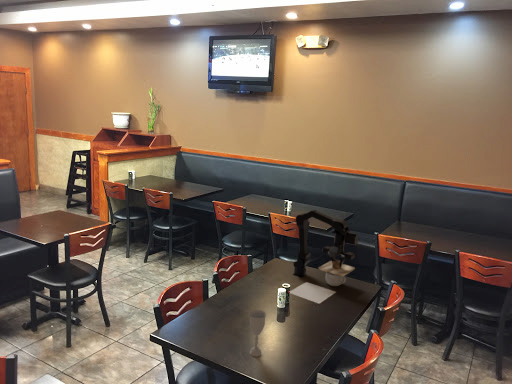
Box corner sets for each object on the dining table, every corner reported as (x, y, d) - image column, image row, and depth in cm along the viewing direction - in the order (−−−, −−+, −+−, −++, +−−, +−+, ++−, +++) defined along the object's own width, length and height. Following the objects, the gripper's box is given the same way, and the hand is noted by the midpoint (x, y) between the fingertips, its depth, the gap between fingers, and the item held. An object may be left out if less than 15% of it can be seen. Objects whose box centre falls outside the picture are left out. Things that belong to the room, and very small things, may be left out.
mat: (288, 292, 234) (288, 292, 234) (306, 282, 250) (306, 281, 249) (319, 304, 222) (319, 303, 222) (336, 292, 238) (336, 292, 238)
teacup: (321, 281, 252) (322, 269, 250) (335, 279, 256) (337, 267, 255) (334, 291, 239) (335, 278, 238) (349, 288, 244) (351, 276, 242)
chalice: (263, 348, 178) (266, 310, 175) (264, 357, 171) (267, 318, 168) (246, 348, 178) (248, 309, 174) (247, 357, 171) (249, 317, 168)
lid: (318, 269, 244) (318, 261, 243) (330, 262, 257) (331, 254, 256) (342, 276, 235) (343, 268, 234) (354, 269, 247) (355, 261, 246)
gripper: (318, 240, 241) (316, 265, 245) (347, 248, 230) (345, 274, 233) (327, 236, 250) (325, 261, 253) (356, 244, 239) (353, 269, 242)
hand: (336, 266), depth 245 cm, fingers closed on lid, 4 cm apart
